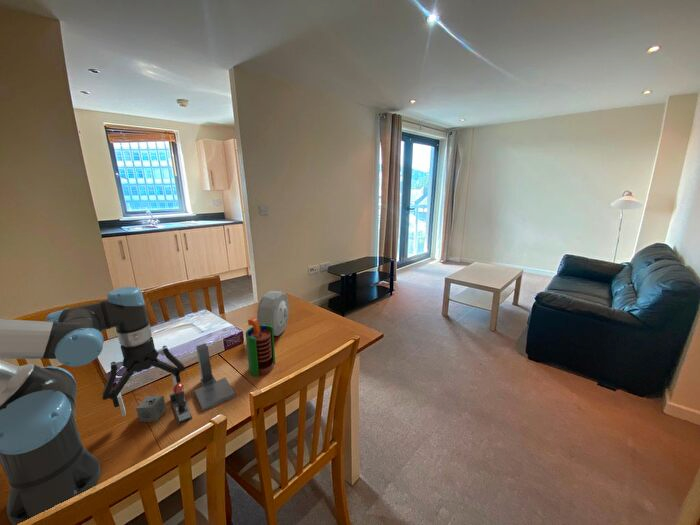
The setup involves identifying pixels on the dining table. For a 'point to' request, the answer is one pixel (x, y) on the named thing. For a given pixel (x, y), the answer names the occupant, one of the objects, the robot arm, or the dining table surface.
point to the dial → (274, 311)
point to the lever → (181, 403)
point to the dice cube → (151, 408)
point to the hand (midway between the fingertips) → (151, 402)
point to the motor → (260, 348)
